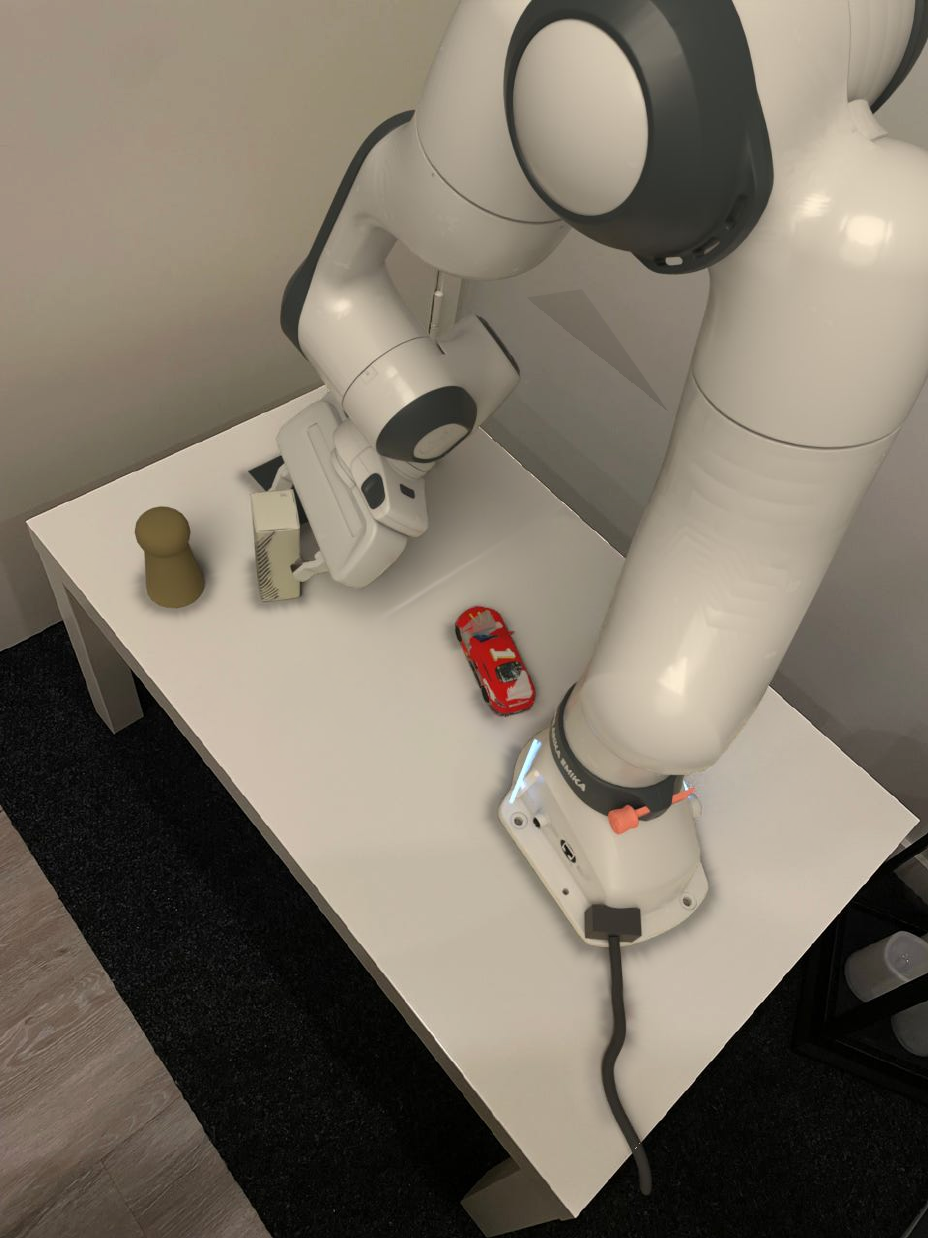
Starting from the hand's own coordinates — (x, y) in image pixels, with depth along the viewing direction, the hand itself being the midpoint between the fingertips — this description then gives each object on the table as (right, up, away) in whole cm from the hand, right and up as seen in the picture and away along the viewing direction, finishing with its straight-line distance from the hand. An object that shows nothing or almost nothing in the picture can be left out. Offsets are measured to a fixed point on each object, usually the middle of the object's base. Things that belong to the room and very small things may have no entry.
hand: (282, 539), depth 89 cm
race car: (+22, -13, +5) cm, 26 cm away
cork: (-12, -5, +5) cm, 14 cm away
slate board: (+4, +10, +16) cm, 20 cm away
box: (-2, -4, +7) cm, 8 cm away
